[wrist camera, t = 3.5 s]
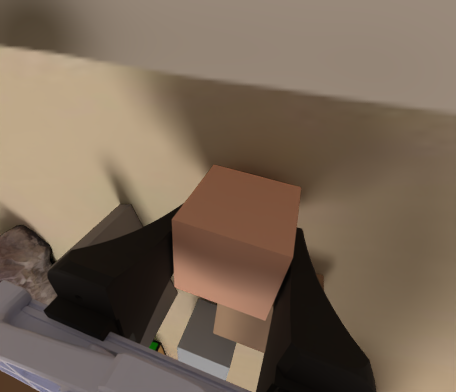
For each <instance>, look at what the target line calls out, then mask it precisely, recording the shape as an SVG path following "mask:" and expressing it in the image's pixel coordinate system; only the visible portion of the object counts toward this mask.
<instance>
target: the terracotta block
mask: <svg viewBox="0 0 456 392" xmlns="http://www.w3.org/2000/svg"><path fill="white" fill-rule="evenodd" d="M300 194H301V187H298V186H294V185H290V184H287V183H283V182H279V181H275V180H271V179H268V178H264V177H260V176H256V175H252V174H249V173H245V172H241V171H237V170H233V169H230V168H226V167H222V166H218V165H213V166H212V168H211V169H210V170H209V171H208V173H207V174H206V175H205V177H204V178H203V179H202V181H201V182H200V183H199V184H198V186H197V187H196V188H195V190H194V191H193V192H192V194H191V195H190V196H189V198H188V199H187V200H186V201H185V203H184V204H183V205H182V207H181V208H180V209H179V211H178V212H177V213H176V214H175V216H174V217H173V218H172V238H173V263H174V287H175V288H178V289H180V290H183V291H186V292H188V293H191V294H194V295H197V296H199V297H202V298H205V299H207V300H210V301H213V302H216V303H218V304H221V305H224V306H226V307H229V308H232V309H234V310H237V311H240V312H243V313H245V314H248V315H251V316H253V317H256V318H259V319H262V320H264V321H265V320H266V318H267V316H268V313H269V311H270V309H271V307H272V304H273V302H274V300H275V298H276V295H277V293H278V291H279V288H280V286H281V284H282V282H283V279H284V277H285V275H286V272H287V270H288V268H289V266H290V263H291V261H292V259H293V253H294V245H295V236H296V228H297V220H298V211H299V203H300Z"/></svg>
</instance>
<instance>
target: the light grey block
mask: <svg viewBox="0 0 456 392" xmlns="http://www.w3.org/2000/svg"><path fill="white" fill-rule="evenodd" d="M216 310H217V305H214V304H212V303H209V302H206V301H203V300H201V299H198V301H197V303H196V306H195V308H194V310H193V313H192V315H191V317H190V319H189V322H188V324H187V326H186V328H185V331H184V333H183V335H182V338H181V340H180V342H179V344H178V347H177V350H178V361H180V362H183V363H185V364H187V365H190V366H192V367H194V368H197V369H199V370H202V371H204V372H206V373H209V374H211V375H213V376H216V377H218V378H220V379H223V380H225V381H226V378H227V375H228V372H229V369H230V365H231V361H232V357H233V353H234V349H235V346H236V342H234V341H232V340H229V339H227V338H224V337H221V336H219V335H216V334H214V333H213V330H214V323H215V317H216Z"/></svg>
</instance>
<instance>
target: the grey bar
mask: <svg viewBox="0 0 456 392" xmlns="http://www.w3.org/2000/svg"><path fill="white" fill-rule="evenodd" d="M140 228H143V227H142V225H141V223H140V221H139V219H138V217H137V215H136V213H135V211H134V209H133V208H132V206H131V204H120V205H119V206H118V207H116V208H115V209H114V210H113V211H112V212H111V213H110V214H109V215H108V216H106V217H105V218H104V219H103V220H102V221H101V222H100V223H99V224H98V225H96V226H95V227H94V228H93V229H92V230H91V231H90V232H89V233H88V234H87V235H85V236H84V237H83V238H82V239H81V240H80V241H79V242H78V243H77V244H75V245H74V246H73V247H72V248H71V249H70V250H69V251H68V252H70V251H71V250H74V249H79V248H83V247H87V246H91V245H95V244H99V243H102V242H106V241H109V240H112V239H115V238H118V237H121V236H123V235H126V234H129V233H131V232H134V231H136V230H138V229H140ZM68 252H67V253H68ZM67 253H65V254H64V255H63V256H62V257H61V258H60V259H59V260H61V259H62V258H63V257H64V256H65V255H66V254H67ZM59 260H58V261H59ZM58 261H57V262H58ZM57 262H56V263H57ZM56 263H54V264H53V265H52V266H51V267H50V268H49V269H48V270H50V269H51V268H52V267H53V266H54V265H55V264H56ZM177 294H178V293H177V291H176V289H175V287H174V285H173V283H172V282H171V280H169V282H168V284H167V286H166V288H165V290H164V292H163V294H162V296H161V298H160V300H159V302H158V304H157V307H156V309H155V311H154V313H153V315H152V317H151V320H150V322H149V324H148V326H147V329H146V331H145V333H144V336H143V338H142V340H141V342H140V345H143V346H145V347H148V348H149V347H150V345H151V343H152V341H153V339H154V337H155V335H156V333H157V332H158V330H159V328H160V326H161V324H162V322H163V320H164V318H165V316H166V315H167V313H168V311H169V309H170V307H171V305H172V303H173V301H174V299H175V298H176V296H177Z"/></svg>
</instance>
